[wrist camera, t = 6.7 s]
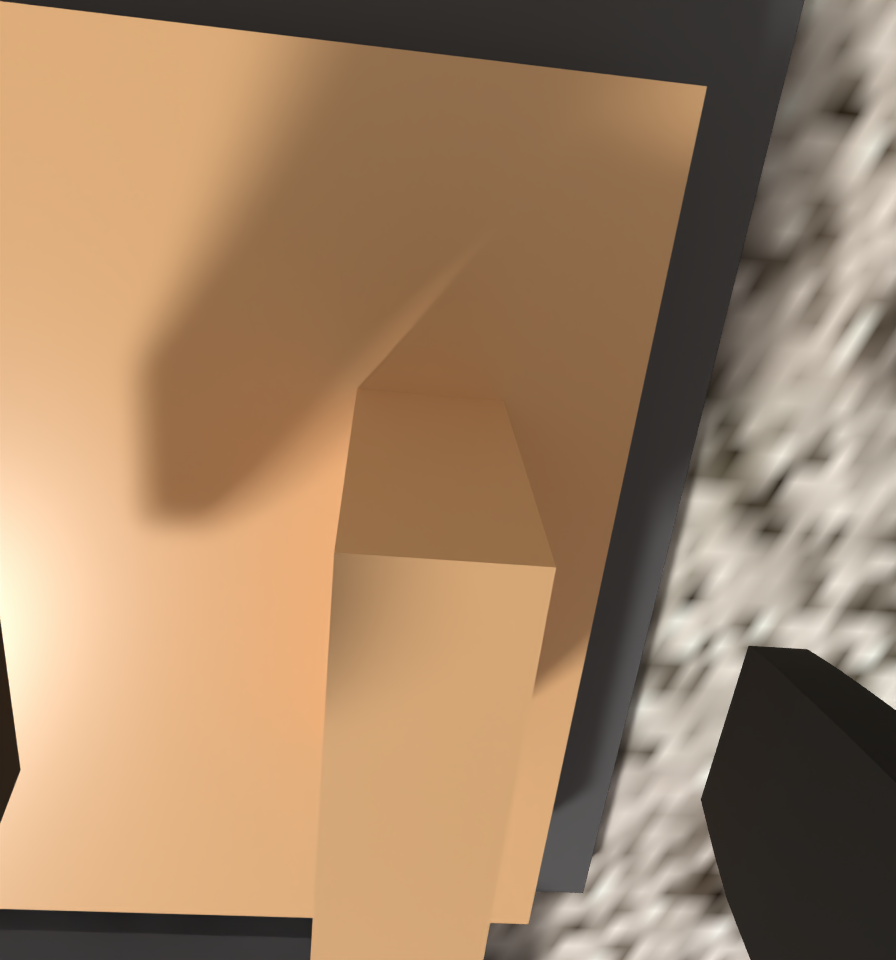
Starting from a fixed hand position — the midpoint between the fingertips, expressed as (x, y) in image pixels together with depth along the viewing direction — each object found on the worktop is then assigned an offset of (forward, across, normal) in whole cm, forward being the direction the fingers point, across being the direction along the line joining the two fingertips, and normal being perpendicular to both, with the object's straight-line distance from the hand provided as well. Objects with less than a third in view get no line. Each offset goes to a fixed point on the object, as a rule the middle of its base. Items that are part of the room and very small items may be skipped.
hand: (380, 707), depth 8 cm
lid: (+3, +6, 0) cm, 6 cm away
